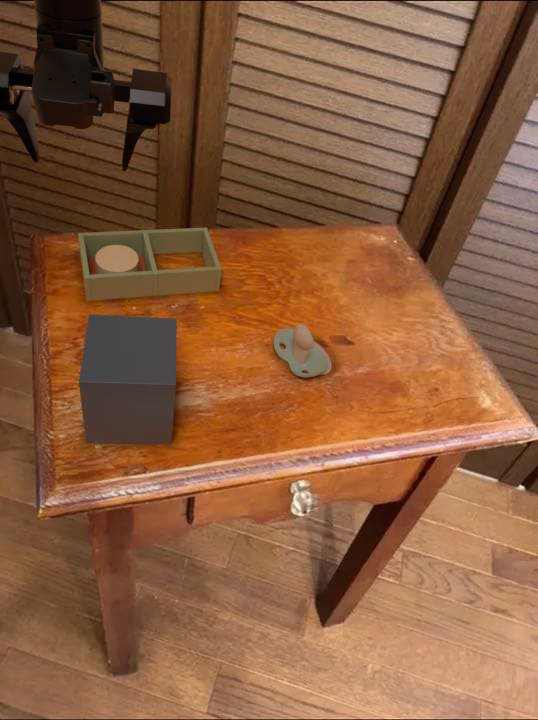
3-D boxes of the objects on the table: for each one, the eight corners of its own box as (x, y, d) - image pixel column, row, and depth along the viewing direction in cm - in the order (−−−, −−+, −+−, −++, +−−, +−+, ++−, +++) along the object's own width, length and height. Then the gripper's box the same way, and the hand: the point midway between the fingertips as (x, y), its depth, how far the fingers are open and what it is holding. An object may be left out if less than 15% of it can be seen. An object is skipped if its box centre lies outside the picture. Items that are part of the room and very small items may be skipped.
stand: (86, 447, 56) (78, 381, 49) (94, 382, 61) (88, 313, 54) (171, 448, 58) (176, 384, 50) (172, 384, 63) (176, 318, 55)
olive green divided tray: (87, 304, 68) (84, 278, 65) (80, 259, 73) (77, 232, 70) (218, 294, 73) (222, 269, 70) (204, 252, 78) (206, 227, 75)
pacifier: (304, 333, 71) (264, 348, 68) (316, 294, 67) (275, 309, 64) (341, 374, 68) (301, 392, 65) (357, 336, 64) (315, 354, 60)
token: (94, 286, 69) (93, 270, 68) (98, 259, 73) (97, 243, 71) (137, 289, 70) (137, 273, 69) (139, 262, 74) (139, 246, 72)
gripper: (-72, 28, 46) (-29, 200, 57) (172, 60, 49) (166, 216, 60) (-36, -20, 53) (-4, 141, 64) (174, 10, 56) (168, 158, 68)
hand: (81, 164), depth 64 cm, fingers open, 9 cm apart
